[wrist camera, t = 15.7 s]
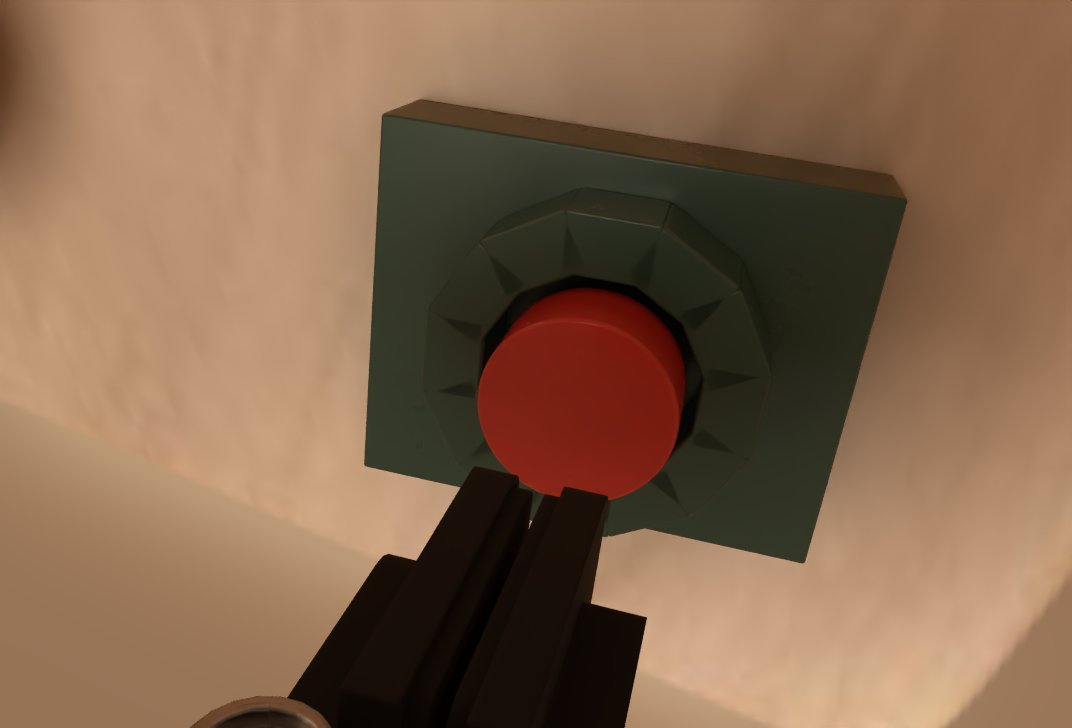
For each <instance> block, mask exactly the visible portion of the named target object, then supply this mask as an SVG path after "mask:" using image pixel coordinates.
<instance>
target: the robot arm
mask: <svg viewBox="0 0 1072 728" xmlns="http://www.w3.org/2000/svg"><path fill="white" fill-rule="evenodd" d="M532 500H533V492H532V491H531V490H527V489H522V488H519V477H518V475H514V474H509V473H505V472H500V471H496V470H492V469H487V468H483V467H478V466H474V467H473V469H472V470H471V471H470V473H469V475H468V476H467V478H466V480H465V481H464V483H463V485H462V486H461V488H460V490H459V491H458V493H457V495H456V496H455V498H454V500H453V501H452V503H451V504H450V506H449V508H448V509H447V511H446V513H445V514H444V516H443V518H442V519H441V521H440V523H439V524H438V526H437V528H436V529H435V531H434V533H433V534H432V536H431V538H430V539H429V541H428V543H427V544H426V546H425V547H424V549H423V551H422V552H421V554H420V556H419V557H418V559H417V561H415V560H411V559H407V558H403V557H399V556H395V555H391V554H387V555H384V556H383V557H382V558H381V559H380V560H379V561H378V563H377V564H376V565H375V567H374V569H373V570H372V572H371V573H370V574H369V576H368V578H367V579H366V581H365V582H364V584H363V585H362V587H361V588H360V589H359V591H358V592H357V594H356V595H355V597H354V599H353V600H352V601H351V603H350V605H349V606H348V608H347V609H346V611H345V612H344V614H343V615H342V616H341V618H340V619H339V621H338V622H337V624H336V626H335V627H334V628H333V630H332V631H331V633H330V635H329V636H328V637H327V639H326V640H325V642H324V644H323V645H322V646H321V648H320V649H319V651H318V652H317V654H316V655H315V657H314V658H313V660H312V661H311V663H310V665H309V666H308V667H307V669H306V670H305V672H304V673H303V675H302V676H301V678H300V679H299V681H298V682H297V684H296V685H295V687H294V688H293V690H292V691H291V693H290V694H289V696H288V697H287V698H284V697H277V696H274V697H273V696H256V697H251V698H246V699H241V700H236V701H233V702H230V703H228V704H226V705H224V706H221V707H219V708H217V709H214V710H212V711H211V712H209V713H208V714H207V715H205V716H204V717H203V718H201V719H200V720H199V721H197V722H196V723H195V724H194V725H192V726H191V727H190V728H624V727H625V723H626V718H627V713H628V708H629V703H630V698H631V693H632V689H633V683H634V679H635V674H636V669H637V664H638V659H639V654H640V650H641V645H642V640H643V635H644V630H645V625H646V620H647V617H643V616H639V615H635V614H631V613H626V612H622V611H618V610H614V609H610V608H606V607H602V606H598V605H594V604H591V599H592V594H593V588H594V582H595V576H596V570H597V565H598V559H599V553H600V547H601V541H602V536H603V530H604V524H605V518H606V512H607V506H608V496H607V495H602V494H598V493H593V492H589V491H584V490H580V489H576V488H571V487H567V486H565V487H564V488H563V490H562V492H561V495H560V497H557V496H553V495H549V494H545V495H544V496H543V498H542V501H541V503H540V505H539V507H538V510H537V512H536V514H535V517H534V519H533V521H532V523H531V526H530V528H529V523H530V515H531V508H532Z"/></svg>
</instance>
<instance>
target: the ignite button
mask: <svg viewBox="0 0 1072 728" xmlns="http://www.w3.org/2000/svg"><path fill="white" fill-rule="evenodd" d="M685 390H686V371H685V365H684V360H683V357H682V354H681V351H680V348H679V346H678V344H677V342H676V340H675V338H674V337H673V335H672V333H671V332H670V330H669V329H668V328H667V326H666V325H665V324H664V323H663V322H662V321H661V319H660V318H658V317H657V316H656V315H655V314H654V313H653V312H652V311H651V310H649V309H648V308H647V307H645V306H644V305H642V304H641V303H639V302H637V301H635V300H634V299H632V298H630V297H627V296H625V295H622V294H620V293H617V292H613V291H609V290H605V289H598V288H574V289H567V290H563V291H559V292H556V293H553V294H551V295H548V296H546V297H544V298H542V299H540V300H539V301H537V302H535V303H534V304H532V305H531V306H530V307H528V308H527V309H526V310H525V311H524V312H523V313H522V314H521V315H520V316H519V317H518V318H517V319H516V321H515V322H514V323H513V325H512V326H511V328H510V329H509V331H508V332H507V334H506V335H505V336H504V338H503V339H502V341H501V342H500V344H499V345H498V347H497V348H496V349H495V351H494V352H493V354H492V355H491V357H490V358H489V360H488V362H487V364H486V366H485V368H484V370H483V373H482V376H481V379H480V383H479V388H478V400H477V406H478V415H479V420H480V424H481V428H482V431H483V433H484V436H485V439H486V441H487V443H488V445H489V447H490V448H491V450H492V452H493V453H494V455H495V456H496V458H497V459H498V460H499V462H500V463H501V464H502V465H503V466H504V467H505V468H506V469H507V471H509V472H510V473H511V474H514V475H518V477H519V481H521V482H522V483H524V484H525V485H527V486H528V487H530V488H532V489H534V490H536V491H537V492H540V493H542V494H549V495H553V496H557V497H560V495H561V492H562V490H563V488H564V487H565V486H567V487H571V488H576V489H580V490H584V491H589V492H593V493H598V494H602V495H607V496H608V500H613V499H616V498H619V497H622V496H625V495H627V494H629V493H631V492H633V491H635V490H637V489H638V488H640V487H641V486H643V485H645V484H646V483H647V482H648V481H650V480H651V479H652V478H653V477H654V476H655V475H656V474H657V473H658V472H659V471H660V470H661V468H662V467H663V466H664V465H665V463H666V461H667V460H668V458H669V457H670V455H671V452H672V450H673V448H674V446H675V442H676V439H677V435H678V431H679V425H680V420H681V414H682V409H683V403H684V398H685Z"/></svg>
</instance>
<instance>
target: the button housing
mask: <svg viewBox="0 0 1072 728" xmlns="http://www.w3.org/2000/svg"><path fill="white" fill-rule="evenodd" d="M906 205H907V199H906V197H905V196H904V194H903V192H902V191H901V189H900V187H899V186H898V184H897V182H896V181H895V179H894V177H893V176H892V175H888V174H882V173H876V172H869V171H863V170H857V169H851V168H844V167H838V166H832V165H826V164H819V163H813V162H807V161H801V160H794V159H788V158H782V157H775V156H769V155H763V154H757V153H750V152H744V151H738V150H732V149H725V148H719V147H713V146H707V145H700V144H694V143H688V142H682V141H675V140H669V139H663V138H657V137H650V136H644V135H638V134H632V133H625V132H619V131H613V130H607V129H600V128H594V127H588V126H582V125H575V124H569V123H563V122H557V121H550V120H544V119H538V118H532V117H525V116H519V115H513V114H507V113H500V112H494V111H488V110H482V109H475V108H469V107H463V106H457V105H450V104H444V103H438V102H431V101H425V100H417V101H414V102H412V103H409V104H407V105H404V106H402V107H399V108H397V109H394V110H392V111H389V112H387V113H384V114H383V115H382V125H381V145H380V164H379V184H378V204H377V223H376V243H375V263H374V283H373V302H372V322H371V342H370V361H369V381H368V401H367V421H366V440H365V460H364V465H365V466H367V467H371V468H376V469H380V470H385V471H389V472H394V473H398V474H403V475H407V476H412V477H416V478H421V479H425V480H430V481H434V482H439V483H443V484H448V485H452V486H457V487H461V486H462V485H463V483H464V481H465V480H466V478H467V476H468V475H469V473H470V471H471V470H472V469H473V467H474V466H478V467H483V468H487V469H492V470H496V471H500V472H505V473H509V474H511V473H510V472H509V471H507V469H506V468H505V467H504V466H503V465H502V464H501V463H500V462H499V460H498V459H497V458H496V456H495V455H494V453H493V452H492V450H491V448H490V447H489V445H488V443H487V441H486V439H485V436H484V433H483V431H482V428H481V424H480V420H479V415H478V406H477V400H478V388H479V383H480V379H481V376H482V373H483V370H484V368H485V366H486V364H487V362H488V360H489V358H490V357H491V355H492V354H493V352H494V351H495V349H496V348H497V347H498V345H499V344H500V342H501V341H502V339H503V338H504V336H505V335H506V334H507V332H508V331H509V329H510V328H511V326H512V325H513V323H514V322H515V321H516V319H517V318H518V317H519V316H520V315H521V314H522V313H523V312H524V311H525V310H526V309H527V308H528V307H530V306H531V305H532V304H534V303H535V302H537V301H539V300H540V299H542V298H544V297H546V296H548V295H551V294H553V293H556V292H559V291H563V290H567V289H574V288H598V289H605V290H609V291H613V292H617V293H620V294H622V295H625V296H627V297H630V298H632V299H634V300H635V301H637V302H639V303H641V304H642V305H644V306H645V307H647V308H648V309H649V310H651V311H652V312H653V313H654V314H655V315H656V316H657V317H658V318H660V319H661V321H662V322H663V323H664V324H665V325H666V326H667V328H668V329H669V330H670V332H671V333H672V335H673V337H674V338H675V340H676V342H677V344H678V346H679V348H680V351H681V354H682V357H683V360H684V365H685V371H686V390H685V398H684V403H683V409H682V414H681V420H680V425H679V431H678V435H677V439H676V442H675V446H674V448H673V450H672V452H671V455H670V457H669V458H668V460H667V461H666V463H665V465H664V466H663V467H662V468H661V470H660V471H659V472H658V473H657V474H656V475H655V476H654V477H653V478H652V479H651V480H650V481H648V482H647V483H646V484H645V485H643V486H641V487H640V488H638V489H637V490H635V491H633V492H631V493H629V494H627V495H625V496H622V497H619V498H616V499H613V500H608V506H607V512H606V518H605V524H604V530H603V537H607V536H608V535H609V536H615V535H619V534H623V533H627V532H631V531H636V530H640V529H644V528H646V529H650V530H655V531H659V532H663V533H668V534H672V535H677V536H681V537H686V538H690V539H695V540H699V541H704V542H708V543H713V544H717V545H722V546H726V547H731V548H735V549H740V550H744V551H749V552H753V553H758V554H762V555H767V556H771V557H776V558H780V559H785V560H789V561H794V562H798V563H804V562H805V561H806V557H807V553H808V550H809V546H810V543H811V539H812V536H813V532H814V529H815V525H816V522H817V518H818V515H819V511H820V508H821V504H822V501H823V497H824V494H825V490H826V487H827V483H828V480H829V476H830V472H831V469H832V465H833V462H834V458H835V455H836V451H837V448H838V444H839V441H840V437H841V434H842V430H843V427H844V423H845V420H846V416H847V413H848V409H849V406H850V402H851V399H852V395H853V391H854V388H855V384H856V381H857V377H858V374H859V370H860V367H861V363H862V360H863V356H864V353H865V349H866V346H867V342H868V339H869V335H870V332H871V328H872V325H873V321H874V318H875V314H876V310H877V307H878V303H879V300H880V296H881V293H882V289H883V286H884V282H885V279H886V275H887V272H888V268H889V265H890V261H891V258H892V254H893V251H894V247H895V244H896V240H897V237H898V233H899V229H900V226H901V222H902V219H903V215H904V212H905V208H906ZM519 488H522V489H527V490H531V491H532V492H533V500H532V508H531V515H530V520H532V521H533V519H534V517H535V514H536V512H537V510H538V507H539V505H540V503H541V501H542V498H543V496H544V495H545V494H542V493H540V492H537V491H536V490H534V489H532V488H530V487H528V486H527V485H525V484H524V483H522V482H521V481H519Z"/></svg>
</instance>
